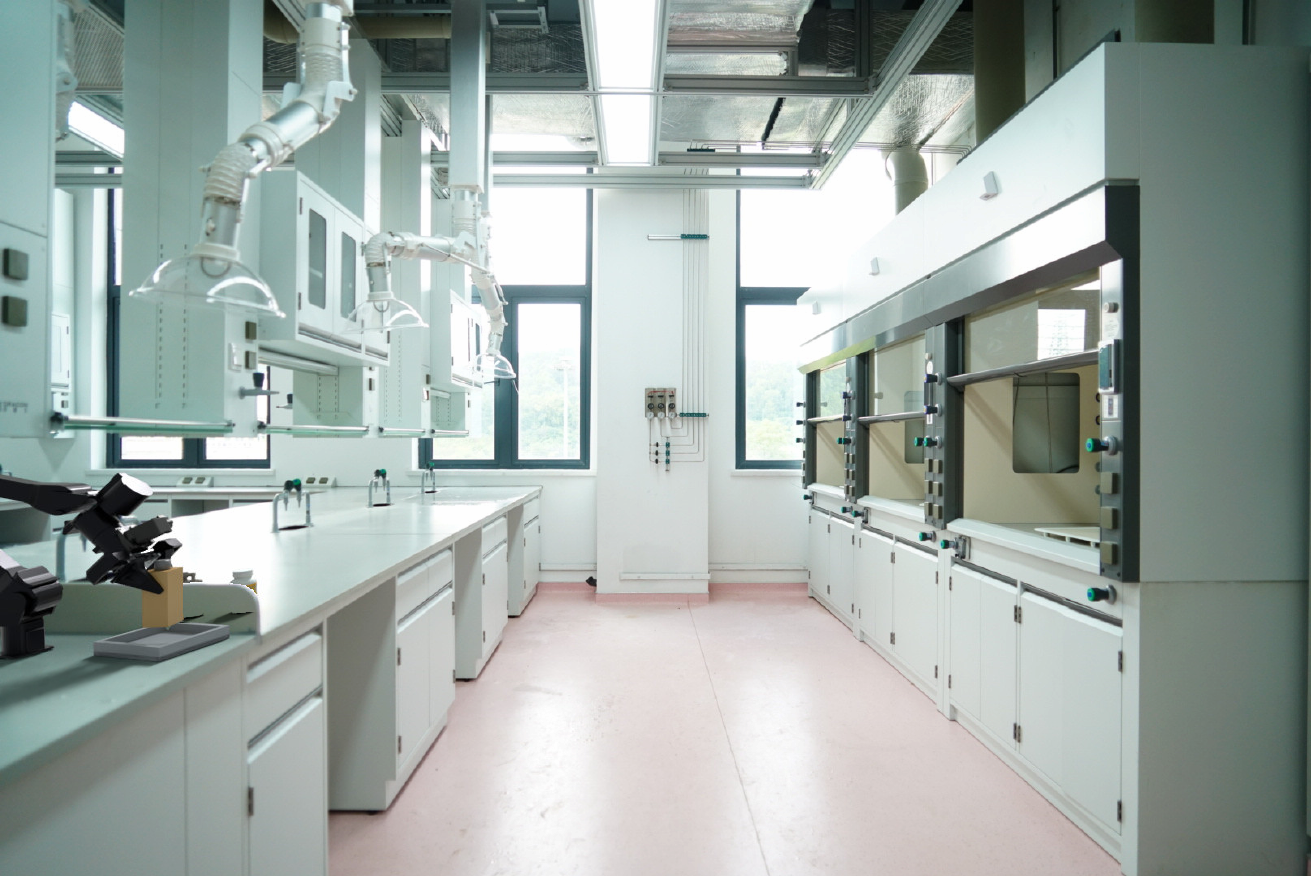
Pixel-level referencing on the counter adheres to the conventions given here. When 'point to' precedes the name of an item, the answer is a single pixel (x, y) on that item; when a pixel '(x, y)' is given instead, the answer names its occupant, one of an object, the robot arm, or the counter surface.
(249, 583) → the supplement bottle
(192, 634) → the tray
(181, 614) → the reagent bottle
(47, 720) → the counter surface
